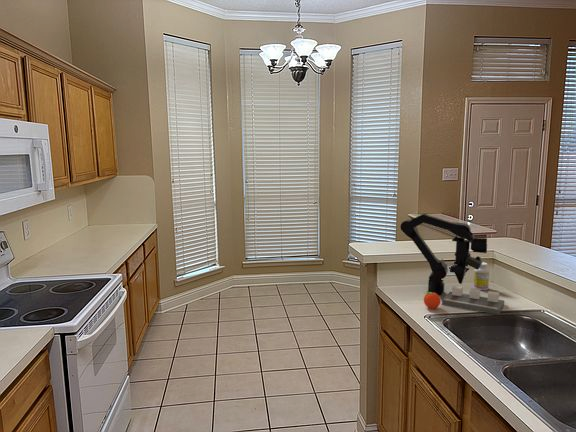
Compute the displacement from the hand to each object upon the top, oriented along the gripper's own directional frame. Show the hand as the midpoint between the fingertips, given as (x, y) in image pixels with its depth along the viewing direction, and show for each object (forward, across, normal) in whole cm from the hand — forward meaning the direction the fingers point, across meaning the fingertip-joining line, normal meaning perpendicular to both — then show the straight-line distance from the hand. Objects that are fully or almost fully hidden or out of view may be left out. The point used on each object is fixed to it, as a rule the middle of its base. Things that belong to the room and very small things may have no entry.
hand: (460, 283), depth 202 cm
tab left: (+4, -6, 0) cm, 7 cm away
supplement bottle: (+6, +16, -6) cm, 19 cm away
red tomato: (+6, -24, +7) cm, 25 cm away
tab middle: (+4, -6, -8) cm, 11 cm away
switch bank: (+6, -10, -8) cm, 14 cm away
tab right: (+3, -6, -15) cm, 17 cm away
